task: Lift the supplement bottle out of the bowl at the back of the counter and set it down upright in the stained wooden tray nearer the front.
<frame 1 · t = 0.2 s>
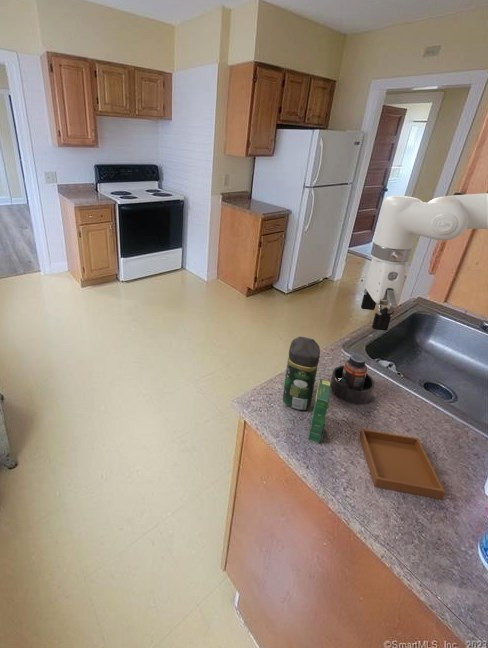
hand: (373, 318, 78), 28 cm above the worktop, tool pointing down, fingers open, 9 cm apart
coffee jar: (296, 399, 91), on the worktop
bowl: (350, 390, 95), on the worktop
supplement bottle: (350, 389, 95), resting on bowl
tray: (396, 464, 73), on the worktop
coffee box: (315, 430, 82), on the worktop
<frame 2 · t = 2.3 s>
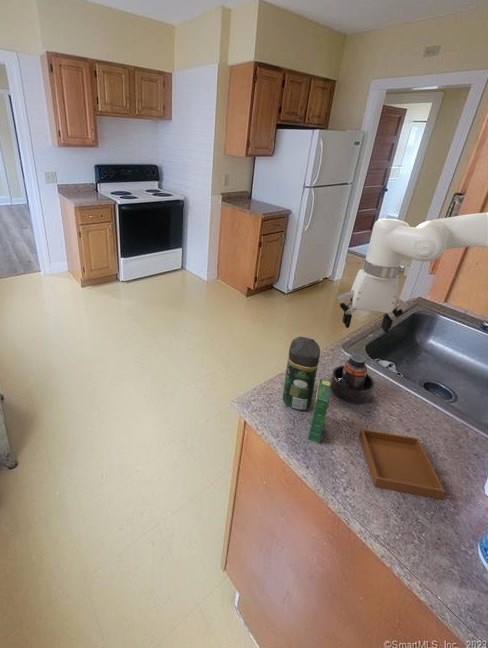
hand: (365, 327, 86), 22 cm above the worktop, tool pointing down, fingers open, 9 cm apart
nothing on the worktop moved.
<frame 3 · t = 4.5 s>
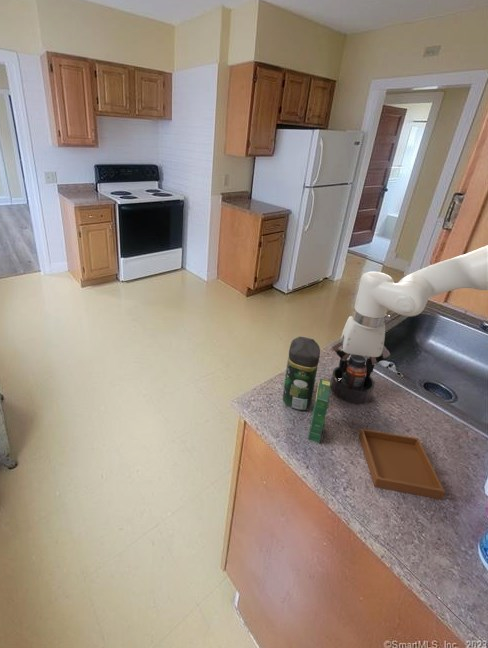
hand: (354, 371, 93), 7 cm above the worktop, tool pointing down, fingers closed on supplement bottle, 6 cm apart
supplement bottle: (350, 389, 95), resting on bowl, touching gripper
everything else where it was.
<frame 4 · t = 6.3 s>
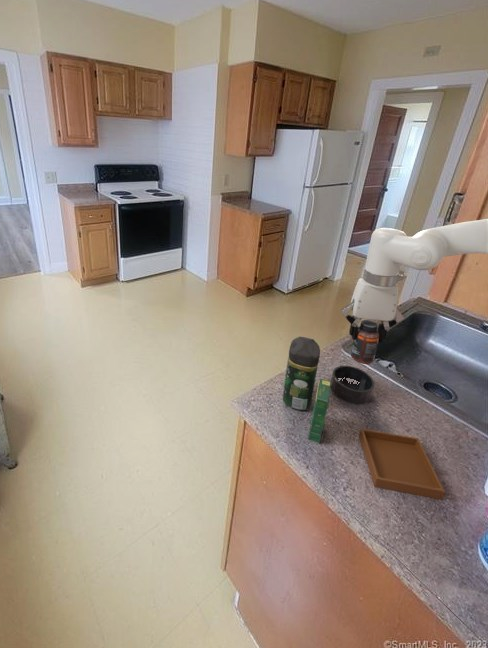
hand: (366, 338, 87), 19 cm above the worktop, tool pointing down, fingers closed on supplement bottle, 6 cm apart
supplement bottle: (361, 359, 90), point 12 cm above the worktop, touching gripper
everything else where it was.
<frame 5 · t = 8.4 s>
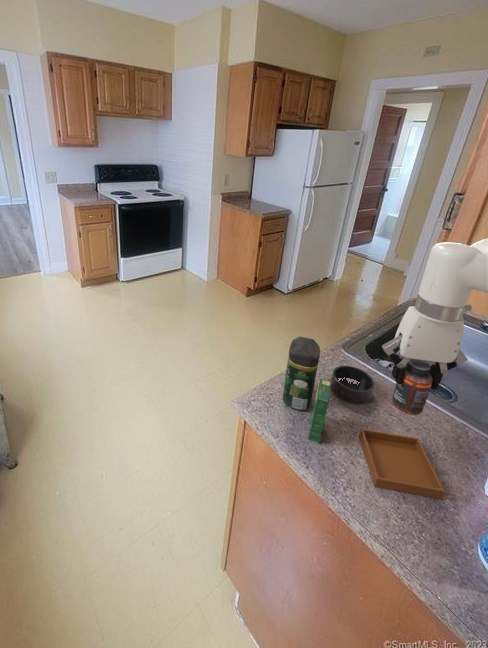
hand: (413, 381, 68), 21 cm above the worktop, tool pointing down, fingers closed on supplement bottle, 6 cm apart
supplement bottle: (405, 406, 70), point 15 cm above the worktop, touching gripper
everything else where it was.
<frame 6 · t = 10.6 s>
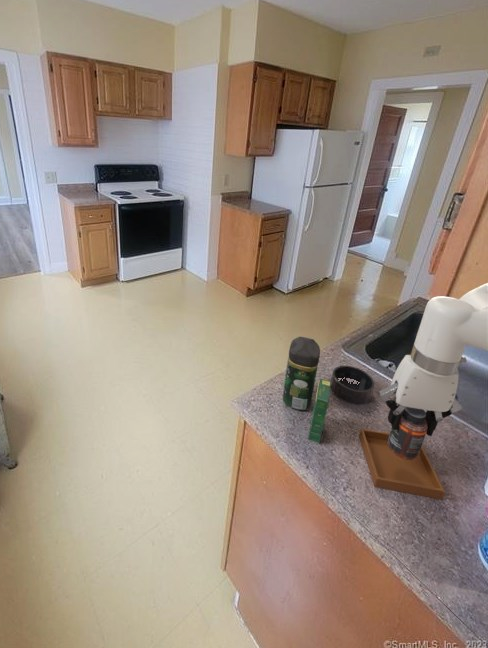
hand: (409, 426, 69), 12 cm above the worktop, tool pointing down, fingers closed on supplement bottle, 6 cm apart
supplement bottle: (401, 449, 71), point 5 cm above the worktop, touching gripper
everything else where it was.
when the fingers open (7 cm above the worktop, at t = 12.2 s): supplement bottle stays where it is, resting on tray.
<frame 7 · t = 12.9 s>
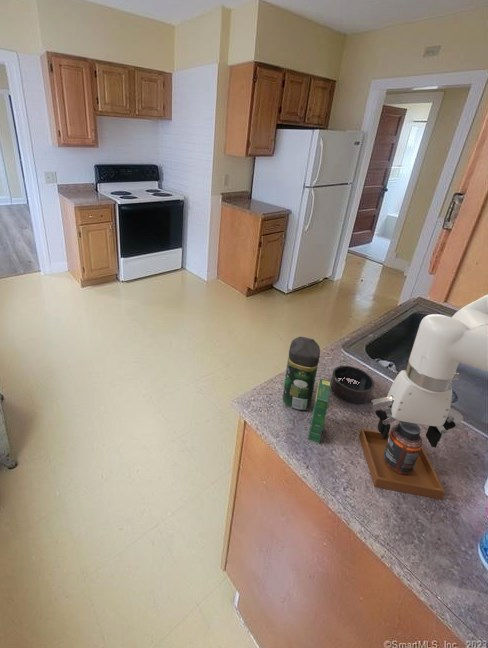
hand: (406, 437, 70), 8 cm above the worktop, tool pointing down, fingers open, 9 cm apart
supplement bottle: (397, 463, 73), resting on tray
everything else where it was.
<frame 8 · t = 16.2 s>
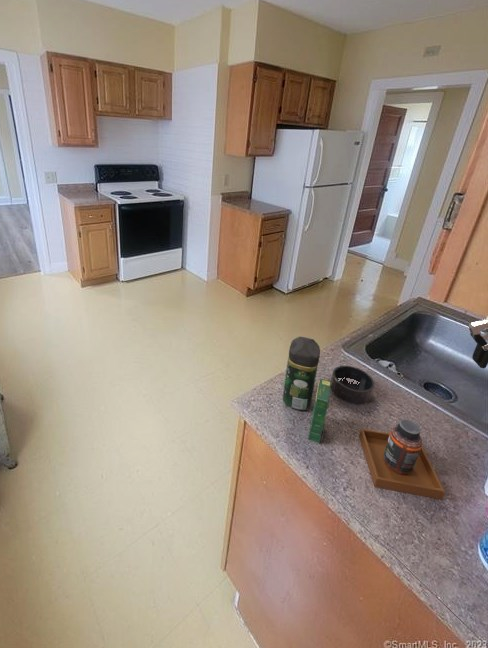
nothing on the worktop moved.
at the end: supplement bottle inside the target area in the tray (0.1 cm from its centre), point 0.3 cm above the tray's base; supplement bottle tilted 0°; the gripper is holding nothing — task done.
